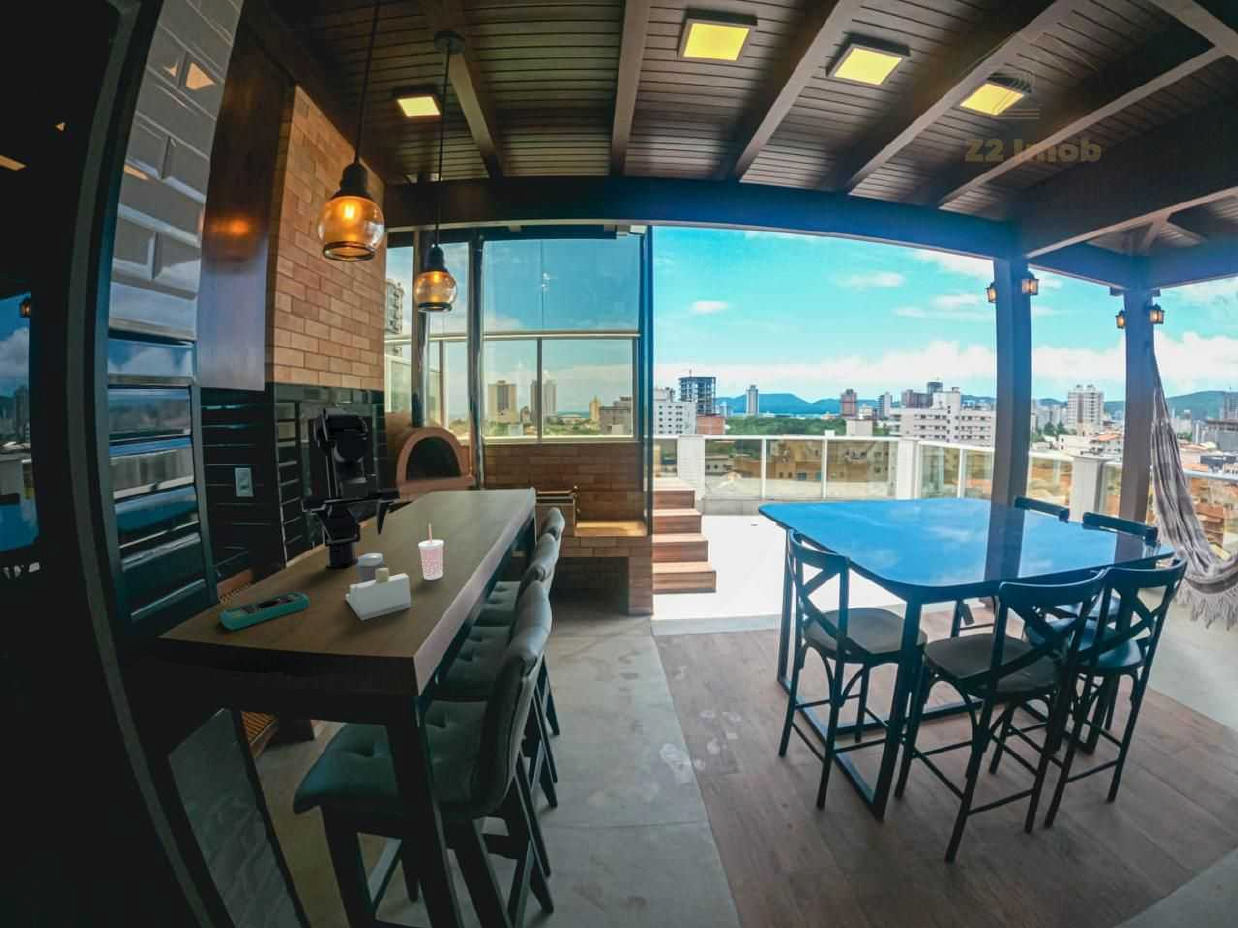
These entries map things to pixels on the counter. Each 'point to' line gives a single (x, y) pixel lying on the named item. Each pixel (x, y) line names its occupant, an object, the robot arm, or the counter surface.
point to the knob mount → (380, 595)
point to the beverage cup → (432, 557)
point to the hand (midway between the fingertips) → (356, 538)
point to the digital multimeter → (263, 610)
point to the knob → (369, 566)
